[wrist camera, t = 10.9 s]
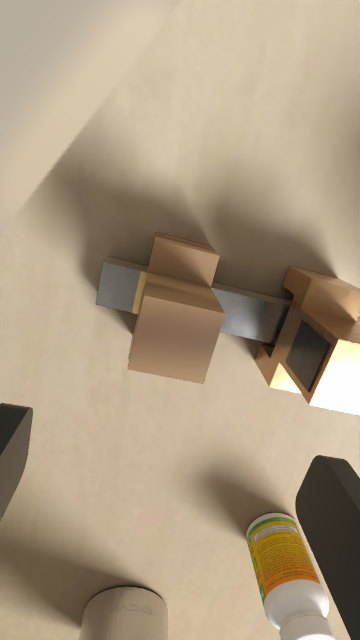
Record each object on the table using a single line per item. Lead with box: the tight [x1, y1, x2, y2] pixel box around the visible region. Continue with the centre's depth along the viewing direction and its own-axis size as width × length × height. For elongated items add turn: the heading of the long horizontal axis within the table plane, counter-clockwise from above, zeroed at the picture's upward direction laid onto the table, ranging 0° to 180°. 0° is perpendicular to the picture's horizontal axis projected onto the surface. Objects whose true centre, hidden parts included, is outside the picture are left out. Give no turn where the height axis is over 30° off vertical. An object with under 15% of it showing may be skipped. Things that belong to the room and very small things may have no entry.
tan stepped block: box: [128, 232, 225, 384], centre depth 21 cm, size 8×4×9 cm, turn 166°
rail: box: [96, 257, 360, 415], centre depth 22 cm, size 8×20×9 cm, turn 75°
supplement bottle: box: [246, 513, 336, 640], centre depth 30 cm, size 5×5×10 cm
